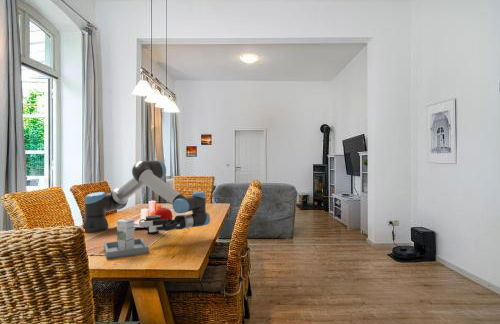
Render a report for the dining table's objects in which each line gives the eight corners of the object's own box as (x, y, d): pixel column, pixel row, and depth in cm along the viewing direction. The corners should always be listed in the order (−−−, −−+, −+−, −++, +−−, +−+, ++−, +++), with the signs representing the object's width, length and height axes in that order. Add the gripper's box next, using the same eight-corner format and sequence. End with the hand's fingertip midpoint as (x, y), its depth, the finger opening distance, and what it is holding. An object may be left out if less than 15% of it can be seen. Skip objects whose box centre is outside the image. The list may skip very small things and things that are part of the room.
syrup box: (134, 248, 150) (134, 219, 150) (126, 251, 144) (126, 221, 144) (125, 247, 152) (125, 218, 152) (116, 250, 146) (116, 220, 146)
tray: (103, 248, 151) (103, 242, 151) (141, 243, 160) (141, 238, 160) (106, 259, 136) (106, 252, 136) (148, 252, 145) (148, 246, 145)
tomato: (156, 224, 209) (156, 206, 208) (173, 224, 210) (173, 206, 210) (152, 228, 196) (152, 209, 196) (170, 228, 198) (170, 208, 197)
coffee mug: (162, 231, 188) (162, 215, 188) (157, 234, 180) (157, 218, 180) (144, 231, 189) (144, 215, 189) (138, 234, 181) (138, 217, 181)
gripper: (193, 232, 157) (153, 239, 144) (174, 224, 177) (136, 229, 164) (193, 218, 157) (153, 223, 144) (173, 211, 177) (136, 216, 164)
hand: (144, 227), depth 154 cm, fingers open, 13 cm apart
